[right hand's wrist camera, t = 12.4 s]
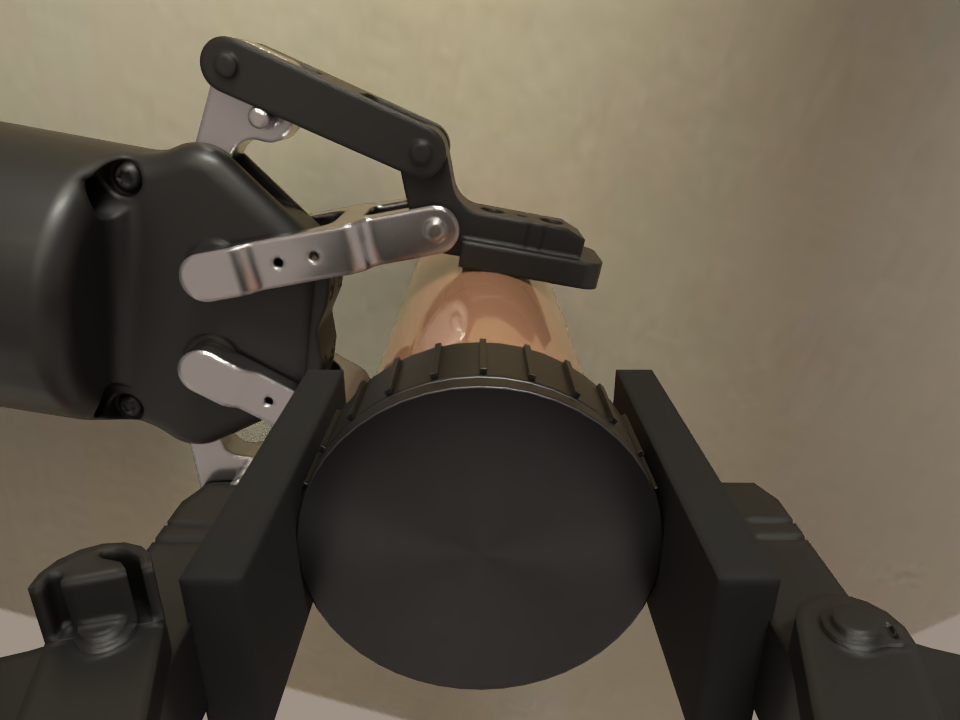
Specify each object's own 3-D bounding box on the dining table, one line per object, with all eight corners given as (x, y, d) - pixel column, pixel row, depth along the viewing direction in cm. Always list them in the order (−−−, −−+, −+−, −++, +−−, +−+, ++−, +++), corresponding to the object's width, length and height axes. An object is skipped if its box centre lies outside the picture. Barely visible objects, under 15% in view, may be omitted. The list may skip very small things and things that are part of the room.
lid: (508, 661, 14) (512, 742, 12) (257, 515, 12) (220, 584, 11) (709, 461, 12) (748, 523, 10) (442, 267, 11) (435, 300, 9)
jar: (387, 293, 25) (271, 544, 11) (471, 189, 24) (458, 330, 10) (487, 370, 26) (496, 686, 12) (573, 276, 25) (692, 513, 11)
